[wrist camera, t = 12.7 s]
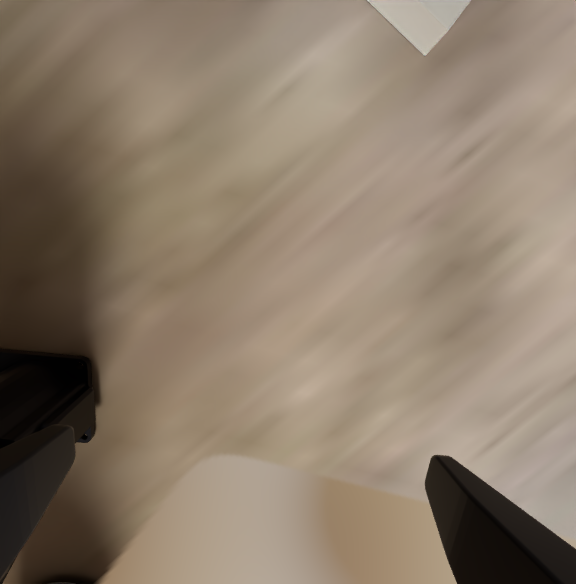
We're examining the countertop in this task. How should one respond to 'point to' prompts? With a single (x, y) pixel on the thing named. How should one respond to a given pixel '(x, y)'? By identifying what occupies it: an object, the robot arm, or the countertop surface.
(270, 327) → the countertop surface
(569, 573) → the robot arm
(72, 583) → the canister
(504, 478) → the countertop surface
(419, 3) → the slotted plate
